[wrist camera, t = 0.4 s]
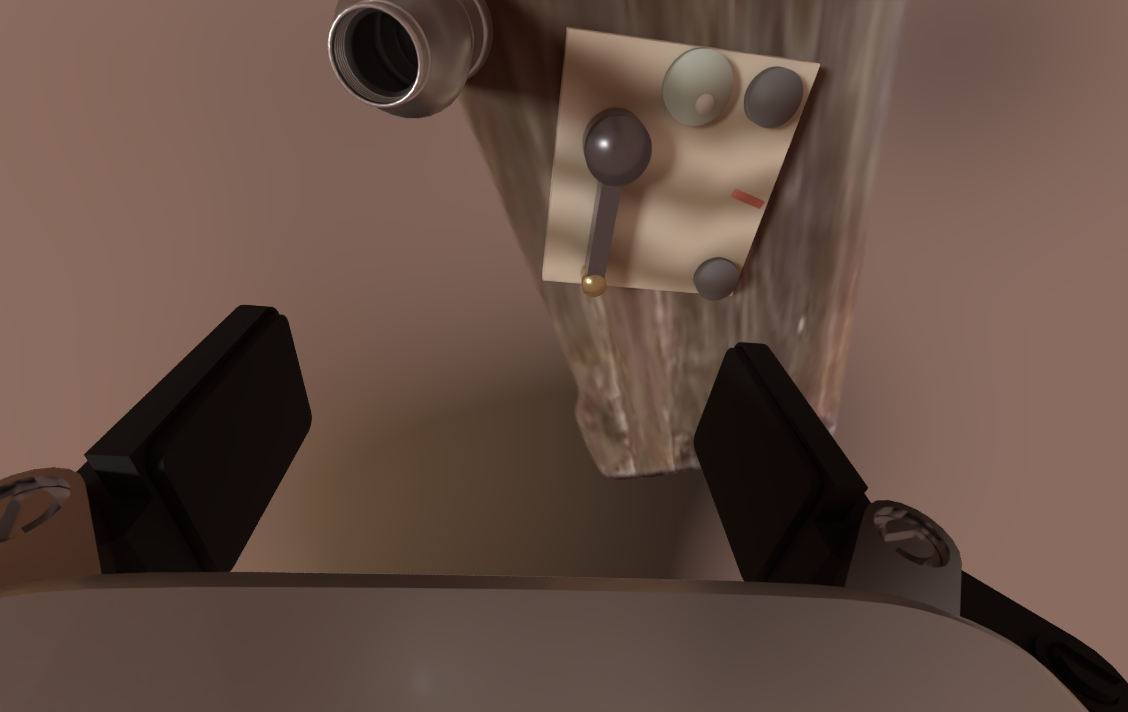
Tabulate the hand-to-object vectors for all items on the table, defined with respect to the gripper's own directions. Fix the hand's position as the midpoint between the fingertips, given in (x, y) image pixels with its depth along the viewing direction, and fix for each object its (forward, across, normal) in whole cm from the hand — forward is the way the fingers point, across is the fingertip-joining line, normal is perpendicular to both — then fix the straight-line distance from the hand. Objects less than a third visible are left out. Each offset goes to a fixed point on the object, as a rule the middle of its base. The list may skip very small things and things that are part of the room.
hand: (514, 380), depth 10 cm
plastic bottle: (+34, +6, -5) cm, 35 cm away
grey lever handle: (+32, -7, +6) cm, 34 cm away
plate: (+35, -12, +4) cm, 37 cm away
